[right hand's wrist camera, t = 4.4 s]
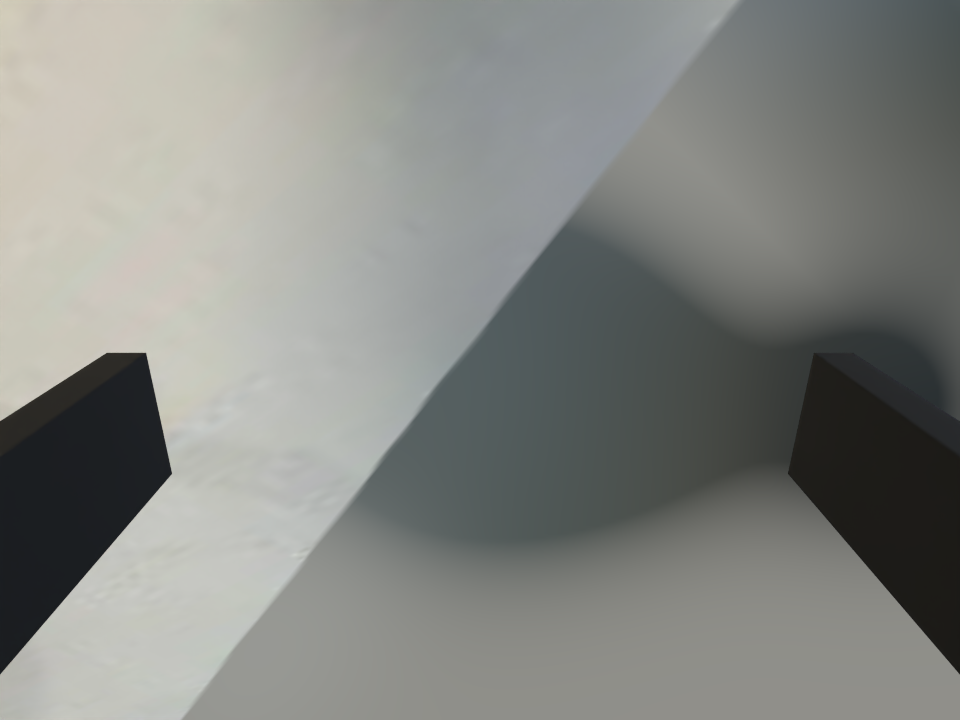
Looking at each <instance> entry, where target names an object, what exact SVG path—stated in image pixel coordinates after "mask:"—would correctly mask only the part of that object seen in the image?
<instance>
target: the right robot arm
mask: <svg viewBox="0 0 960 720" xmlns="http://www.w3.org/2000/svg"><path fill="white" fill-rule="evenodd" d="M171 474H172V471H171V467H170V462H169V458H168V453H167V448H166V444H165V439H164V434H163V430H162V425H161V420H160V416H159V411H158V407H157V402H156V397H155V393H154V388H153V383H152V379H151V374H150V369H149V365H148V360H147V356H146V353H106V354H105V355H103V356H101V357H100V358H98V359H97V360H95V361H94V362H92V363H90V364H89V365H87V366H86V367H84V368H83V369H81V370H80V371H78V372H76V373H75V374H73V375H72V376H70V377H69V378H67V379H66V380H64V381H62V382H61V383H59V384H58V385H56V386H55V387H53V388H51V389H50V390H48V391H47V392H45V393H44V394H42V395H41V396H39V397H37V398H36V399H34V400H33V401H31V402H30V403H28V404H26V405H25V406H23V407H22V408H20V409H19V410H17V411H16V412H14V413H12V414H11V415H9V416H8V417H6V418H5V419H3V420H2V421H0V674H1V673H2V672H3V670H4V669H5V668H6V667H7V666H8V665H9V663H10V662H11V661H12V660H13V659H14V658H15V656H16V655H17V654H18V653H19V652H20V651H21V649H22V648H23V647H24V646H25V645H26V644H27V642H28V641H29V640H30V639H31V638H32V637H33V635H34V634H35V633H36V632H37V631H38V630H39V628H40V627H41V626H42V625H43V624H44V623H45V621H46V620H47V619H48V618H49V617H50V616H51V614H52V613H53V612H54V611H55V610H56V609H57V607H58V606H59V605H60V604H61V603H62V602H63V600H64V599H65V598H66V597H67V596H68V595H69V593H70V592H71V591H72V590H73V589H74V588H75V586H76V585H77V584H78V583H79V582H80V580H81V579H82V578H83V577H84V576H85V575H86V573H87V572H88V571H89V570H90V569H91V568H92V566H93V565H94V564H95V563H96V562H97V561H98V559H99V558H100V557H101V556H102V555H103V554H104V552H105V551H106V550H107V549H108V548H109V547H110V545H111V544H112V543H113V542H114V541H115V540H116V538H117V537H118V536H119V535H120V534H121V533H122V531H123V530H124V529H125V528H126V527H127V526H128V524H129V523H130V522H131V521H132V520H133V519H134V517H135V516H136V515H137V514H138V513H139V512H140V510H141V509H142V508H143V507H144V506H145V505H146V503H147V502H148V501H149V500H150V499H151V498H152V496H153V495H154V494H155V493H156V492H157V491H158V489H159V488H160V487H161V486H162V485H163V484H164V482H165V481H166V480H167V479H168V478H169V477H170V475H171ZM788 474H789V475H790V477H791V478H792V479H793V480H794V481H795V482H796V484H797V485H798V486H799V487H800V488H801V489H802V491H803V492H804V493H805V494H806V495H807V496H808V498H809V499H810V500H811V501H812V502H813V503H814V505H815V506H816V507H817V508H818V509H819V510H820V512H821V513H822V514H823V515H824V516H825V517H826V519H827V520H828V521H829V522H830V523H831V524H832V526H833V527H834V528H835V529H836V530H837V531H838V533H839V534H840V535H841V536H842V537H843V538H844V540H845V541H846V542H847V543H848V544H849V545H850V547H851V548H852V549H853V550H854V551H855V552H856V554H857V555H858V556H859V557H860V558H861V559H862V561H863V562H864V563H865V564H866V565H867V566H868V568H869V569H870V570H871V571H872V572H873V573H874V575H875V576H876V577H877V578H878V579H879V580H880V582H881V583H882V584H883V585H884V586H885V588H886V589H887V590H888V591H889V592H890V593H891V595H892V596H893V597H894V598H895V599H896V600H897V602H898V603H899V604H900V605H901V606H902V607H903V609H904V610H905V611H906V612H907V613H908V614H909V616H910V617H911V618H912V619H913V620H914V621H915V623H916V624H917V625H918V626H919V627H920V628H921V629H922V631H923V632H924V633H925V634H926V635H927V637H928V638H929V639H930V640H931V641H932V642H933V644H934V645H935V646H936V647H937V648H938V649H939V651H940V652H941V653H942V654H943V655H944V656H945V658H946V659H947V660H948V661H949V662H950V663H951V665H952V666H953V667H954V668H955V669H956V670H957V672H958V673H959V674H960V421H958V420H957V419H955V418H954V417H952V416H951V415H949V414H948V413H946V412H944V411H943V410H941V409H940V408H938V407H937V406H935V405H933V404H932V403H930V402H929V401H927V400H926V399H924V398H923V397H921V396H919V395H918V394H916V393H915V392H913V391H912V390H910V389H909V388H907V387H905V386H904V385H902V384H901V383H899V382H898V381H896V380H894V379H893V378H891V377H890V376H888V375H887V374H885V373H883V372H882V371H880V370H879V369H877V368H876V367H874V366H873V365H871V364H870V363H868V362H866V361H865V360H863V359H862V358H860V357H859V356H857V355H855V354H854V353H814V356H813V360H812V365H811V370H810V374H809V379H808V383H807V388H806V393H805V397H804V402H803V407H802V411H801V416H800V420H799V425H798V430H797V434H796V439H795V444H794V448H793V453H792V458H791V462H790V467H789V471H788Z"/></svg>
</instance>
